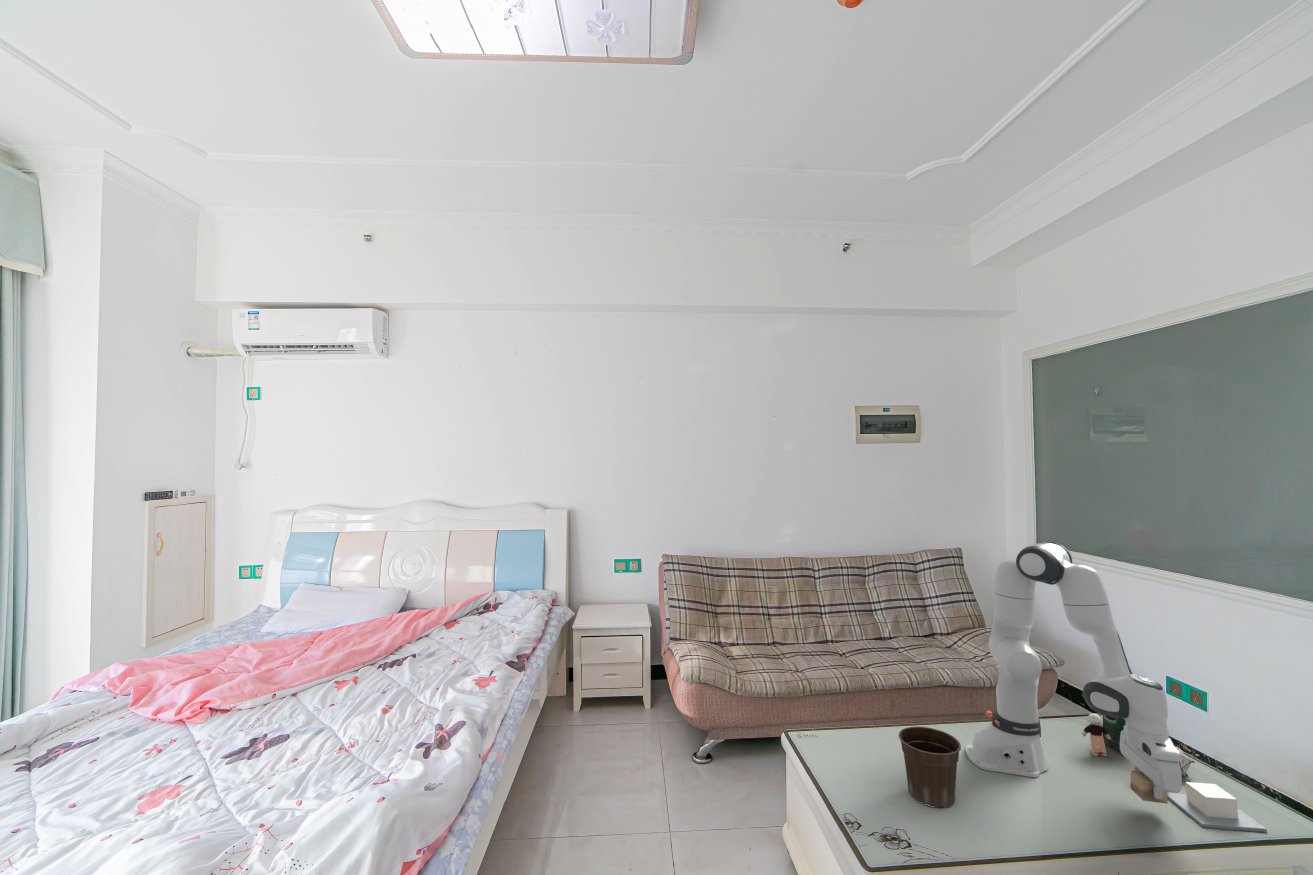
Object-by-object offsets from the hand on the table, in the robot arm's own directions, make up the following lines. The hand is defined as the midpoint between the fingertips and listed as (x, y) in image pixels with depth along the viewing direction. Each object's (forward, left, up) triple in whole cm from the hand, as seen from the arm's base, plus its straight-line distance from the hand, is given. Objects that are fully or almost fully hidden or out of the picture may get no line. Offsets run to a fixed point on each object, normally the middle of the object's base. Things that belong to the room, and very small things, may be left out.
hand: (1148, 789), depth 149 cm
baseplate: (+15, +1, -6) cm, 16 cm away
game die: (+19, +21, -6) cm, 30 cm away
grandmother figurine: (+3, +30, -6) cm, 31 cm away
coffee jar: (+13, +35, -6) cm, 38 cm away
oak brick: (0, 0, -2) cm, 2 cm away
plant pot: (-56, -1, -6) cm, 56 cm away
